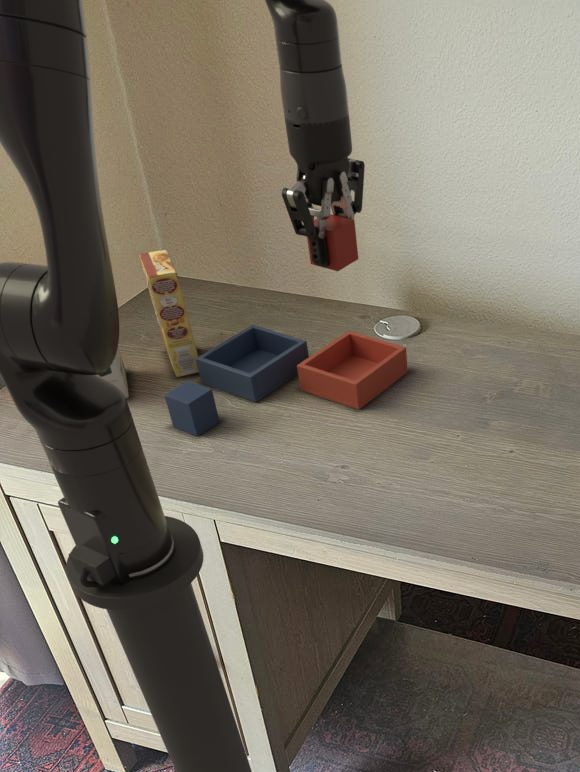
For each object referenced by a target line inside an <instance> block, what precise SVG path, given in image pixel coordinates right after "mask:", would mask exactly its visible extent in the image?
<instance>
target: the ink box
mask: <svg viewBox="0 0 580 772" xmlns="http://www.w3.org/2000/svg"><path fill="white" fill-rule="evenodd" d="M97 376H99V377H100V378H102V379H104V380H106V381H108V382H110V383H111V384H113V385H115V386H116V387H117V388H118V389H120V390H121V392H122V393H123V394H124V396H125V398H126V399H129V397H130V395H129V387H128V379H127V378H128V377H127V371H126V368H125V364H124V361H123V358H122V355H121V351H120V348H119V347H118V349H117V353H116V356H115V359H114V361H113V362H112V364H111V366H110V367H109V368H108V369H107V370H106V371H105V372H103V373H101V374H98V375H97Z"/></svg>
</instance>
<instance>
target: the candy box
mask: <svg viewBox="0 0 580 772" xmlns="http://www.w3.org/2000/svg"><path fill="white" fill-rule="evenodd" d="M139 260H140V263H141V267H142V270H143V274H144V277H145V278H144V279H145V281H146V285H147V288H148V291H149V292H148V293H149V295H150V299H151V302H152V306H153V309H154V312H155V313H154V314H155V316H156V320H157V323H158V327H159V330H160V334H161V336H162V340H163V343H164V346H165V349H166V352H167V355H168V359H169V361H170V364H171V367H172V370H173V371H174V374H175V376H176V378H180V377H183V376H190V375H193V374H199V371H198V367H197V363H196V358H197V357H199V353H198V349H197V346H196V342H195V337H194V334H193V330H192V326H191V323H190V318H189V315H188V311H187V307H186V303H185V299H184V296H183V292H182V287H181V285H180V280H179V277H178V272H177V269H176V268H175V266H174V263H173V261H172V259H171V257H170V255H169V253H168V250H167V249H163V250H162V249H161V250H157V251H150V252H143V253H140V254H139Z"/></svg>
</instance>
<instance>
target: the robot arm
mask: <svg viewBox="0 0 580 772" xmlns="http://www.w3.org/2000/svg"><path fill="white" fill-rule="evenodd" d="M264 2H265V5H266V6H267V9H268V12H269V14H270V17H271V20H272V23H273V30H274V38H275V46H276V53H277V60H278V65H279V84H280V86H279V87H280V88H279V89H280V96H281V102H282V109H283V118H284V123H285V130H286V131H285V132H286V138H287V143H288V150H289V151H288V152H289V155H290V156H291V158H292V159H293V160H294V161H295V164H296V166H297V170H296V171H297V172H296V183H294V184H293V185H292V187H290V188H289V187H284V188H282V190H281V197H282V200H283V202H284V205H285V206H284V207H285V208H286V211H287V214H288V216H289V219H290V222H291V225H292V228H293V231H294V234H295V235H298V236H302V237H306V238H307V237H308V238H309V242H310V250H311V257H312V260H313V262H314V264H315V265H314V266H316V265H317V267H320V266H321V267H320V268H324V269H326V268H325V267H327V266H329V265H330V259H329V251H328V244H327V237H325V235H326V222H327V218H329V217H330V214H331V212H332V215H336V216H340V217H344V218H348V219H353V220H355V215H356V214H357V213H359V214H360V213H361V212H362V210H363V200H364V199H363V198H364V185H365V167H366V166H365V162H364V161H363V160H359V159H354V158H350V155H351V154H352V152H353V142H352V132H351V121H350V110H349V101H348V90H347V82H346V78H345V75H344V68H343V64H342V51H341V42H340V33H339V32H340V31H339V23H338V18H337V12H336V11H335V8H334V7H333V5H332V4H331V3H329V2H328V1H327V0H264ZM85 19H86V18H85V12H84V3H83V0H0V145H1V146H2V148H3V150H4V152H5V154H6V155H7V156H8V157H9V159H10V161H11V163H12V164H13V166H14V167H15V169H16V170H17V172H18V174H19V176H20V177H21V179H22V181H23V182H24V184H25V186H26V188H27V190H28V193H29V194H30V196H31V199H32V202H33V204H34V206H35V207H34V208H35V209H36V212H37V216H38V220H39V224H40V228H41V232H42V233H41V234H42V238H43V243H44V249H45V257H46V265H44V264H34V263H25V262H18V261H17V262H16V261H14V262H13V261H11V262H10V261H8V262H7V261H5V262H0V378H1V379H2V382H3V384H4V385H5V387H6V389H7V392H8V394H9V395H10V397H11V399H12V402H13V403H14V405H15V407H16V409H17V411H18V412H19V414H20V416H21V417H23V419H24V420H25V421H26V422H27V423H28V424H29V425H31V426H32V428H33V429H34V430H35V433H36V435H37V437H38V439H39V442H40V444H41V446H42V449H43V451H44V454H45V456H46V458H47V460H48V463H49V466H50V468H51V470H52V472H53V476H54V477H55V480H56V482H57V484H58V487H59V489H60V492H61V494H62V498H60V499H59V500H58V501H57V505H58V507H59V510H60V512H61V514H62V517H63V519H64V522H65V524H66V526H67V528H68V532H69V534H70V535H71V537H72V540H73V542H74V544H75V545H74V546H76V547H77V549H75V550H74V551H72V550H71V551H72V552H71V551H70V552H69V553H68V554H67V555H68V557H70V560H71V562H72V564H73V566H74V569H75V571H76V572H77V573H79V574H81V575H80V582H81V584H82V585H83V586H85V587H98V586H99V584H101V585H105V584H106V583H107V582H109V581H110V580H111V581H113V582H115V583H117V584H119V585H125V584H126V583H128V582H129V581H131V580H135V579H140V578H143V577H146V576H149V575H151V574H153V573H155V572H157V571H159V570H160V569H162V568H163V567H164V566H165V565H166V564H167V563H168V562H169V561H170V560H171V559H172V557H173V555H174V552H175V543H174V540H173V537H172V535H171V533H170V531H169V527H168V525H167V522H166V518H165V516H166V515H165V513H164V510H163V507H162V503H161V500H160V498H159V495H158V491H157V489H156V484H155V482H154V479H153V476H152V473H151V470H150V467H149V464H148V461H147V458H146V455H145V451H144V449H143V445H142V443H141V440H140V437H139V434H138V429H137V427H136V425H135V420H134V419H133V415H132V412H131V409H130V405H129V403H128V400H127V398H125V396H124V394H123V393H122V392H121V390H120V389H118V388H117V387H116V386H115V385H113V384H111V383H110V382H108V381H106V380H104V379H102V378H100V377H99V376H97V375H98V374H101V373H103V372H105V371H106V370H107V369H108V368H109V367H110V366H111V364H112V362H113V361H114V359H115V356H116V353H117V349H118V348H119V343H120V315H119V314H120V313H119V305H118V303H119V302H118V297H117V290H116V284H115V279H114V272H113V266H112V261H111V255H110V250H109V244H108V239H107V233H106V226H105V221H104V215H103V209H102V208H103V207H102V200H101V193H100V192H101V191H100V184H99V177H98V175H99V174H98V165H97V156H96V146H95V145H96V144H95V134H94V121H93V102H92V85H91V82H92V81H91V71H90V58H89V47H88V39H87V38H88V37H87V27H86V26H87V25H86V20H85ZM352 191H353V193H354V195H353V196H354V197H352V194H351V193H352ZM314 206H318V207H320V208H315V207H314ZM315 217H316V219H318V222H317V226H314V220H315ZM87 578H89V579H91V580H93V581H88V580H87Z"/></svg>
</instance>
